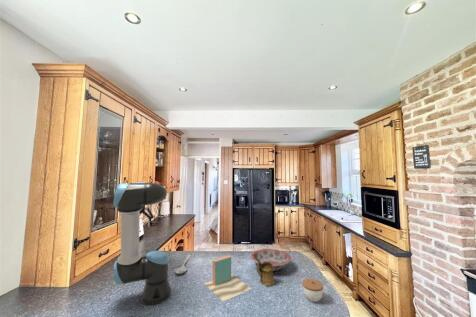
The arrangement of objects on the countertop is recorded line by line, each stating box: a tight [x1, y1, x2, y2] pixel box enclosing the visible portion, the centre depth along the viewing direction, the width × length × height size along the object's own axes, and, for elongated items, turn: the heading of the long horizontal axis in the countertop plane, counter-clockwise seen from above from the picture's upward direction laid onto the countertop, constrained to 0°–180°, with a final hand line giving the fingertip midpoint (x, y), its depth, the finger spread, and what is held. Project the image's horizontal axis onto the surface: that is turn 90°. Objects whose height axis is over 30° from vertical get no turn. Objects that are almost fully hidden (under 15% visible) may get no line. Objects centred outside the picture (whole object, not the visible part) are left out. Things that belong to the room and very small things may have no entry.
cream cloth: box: [204, 273, 253, 302], centre depth 117 cm, size 22×20×1 cm
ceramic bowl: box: [250, 248, 292, 272], centre depth 143 cm, size 29×29×8 cm
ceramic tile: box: [212, 254, 232, 286], centre depth 123 cm, size 3×12×14 cm, turn 127°
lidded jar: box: [301, 278, 324, 303], centre depth 106 cm, size 11×11×9 cm
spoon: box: [174, 253, 191, 275], centre depth 148 cm, size 35×8×3 cm, turn 3°
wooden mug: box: [253, 254, 275, 287], centre depth 123 cm, size 9×14×18 cm, turn 97°
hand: (139, 227), depth 152 cm, fingers open, 13 cm apart
